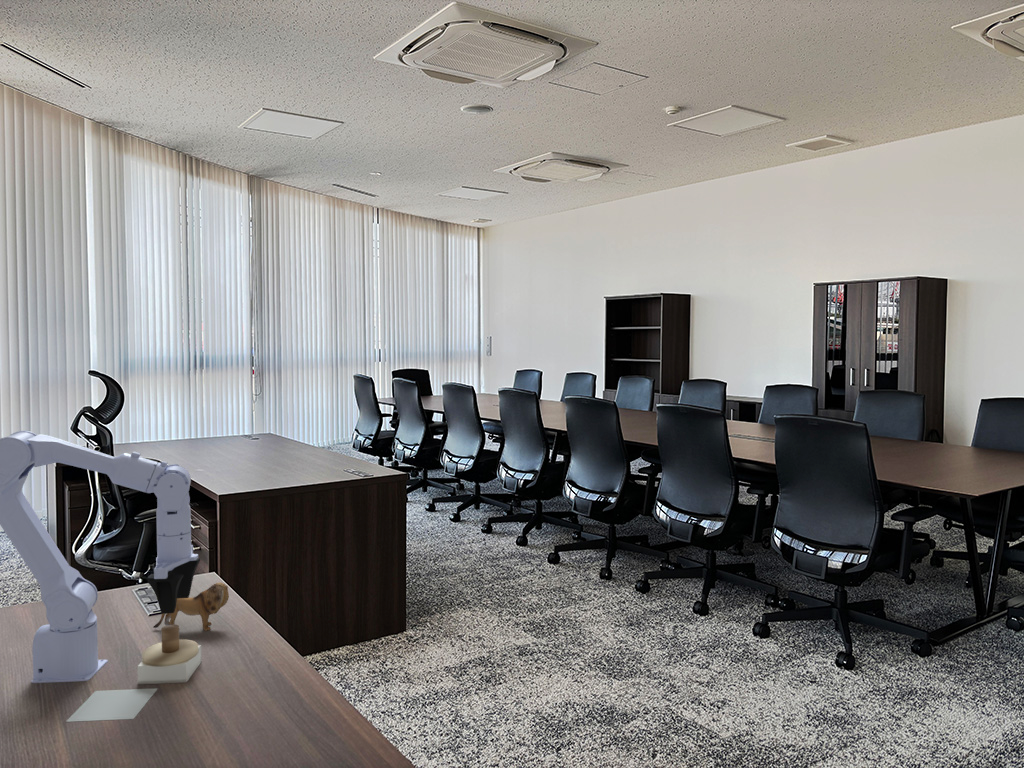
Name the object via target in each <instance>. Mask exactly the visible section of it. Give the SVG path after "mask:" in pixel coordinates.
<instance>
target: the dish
mask: <svg viewBox="0 0 1024 768" xmlns="http://www.w3.org/2000/svg"><path fill="white" fill-rule="evenodd" d="M201 663H202V645H201V644H198V654H197V655H196V656H195V657H194V658H192V659H190V660H188V661H186V662H183V663H180V664H176V665H171V666H162V667H156V666H149V665H146V664H144V663H143V661H142V660H141V662H140V663H139V664H138V665H137V685H148V684H149V685H150V684H153V685H154V684H155V685H156V684H178V683H179V684H181V683H187V682H188V681H189V680H190V678H191V677H192V676H193V674H194V673H195V671H196V670H197V669H198V667H199V666H200V664H201Z"/></svg>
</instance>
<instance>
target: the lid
mask: <svg viewBox="0 0 1024 768" xmlns="http://www.w3.org/2000/svg"><path fill="white" fill-rule="evenodd" d="M198 645H199V643H197V642H196V641H195V640H191V639H186V638H185V639H184V638H182V639H180V626H179V625H178V624H175V625H167V626H165V625H164V626H162V628H161V642H158V643H155V644H153V645H150V646H149V647H146V648H145V649H144V650H143V651H142V654H141V657H142V658H141V659H142V660H141V662H142V661H143V663H144V664H146V665H149V666H156V667H162V666H171V665H176V664H180V663H183V662H186V661H188V660H190V659H192V658H194V657H195V656H196V655H197V654H198Z"/></svg>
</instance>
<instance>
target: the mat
mask: <svg viewBox="0 0 1024 768" xmlns="http://www.w3.org/2000/svg"><path fill="white" fill-rule="evenodd" d="M158 690H159V688H134V689H133V688H132V689H131V688H130V689H111V690H110V689H109V690H108V689H107V690H95V691H94V692H92V694H91V695H90V696H89V697H88V698H87V699H86V700H85V701H84V702H83V703H82V704H81V705H80V706H79V708H77V709H76V710H75V711H74V712H73V713H72V715H71V716H69V718H67V720H65V723H77V722H97V721H98V722H99V721H101V722H102V721H120V720H122V721H123V720H134V719H135V718H136V716H137V715H139V713H140V712H141V710H143V708H144V707H145V705H147V703H148V701H150V699H151V698H152V697H153V695H154V694H155V693H156V692H157V691H158Z"/></svg>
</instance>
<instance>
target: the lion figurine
mask: <svg viewBox="0 0 1024 768" xmlns="http://www.w3.org/2000/svg"><path fill="white" fill-rule="evenodd" d="M228 587H229V586H228V584H225V583H223V582H216V583H213V584H212V585H211V586H210V587H208V588H207V589H205V590H203V591H201V592H200V593H198V595H196V596H194V597H193V596H192V597H190V596H189V597H188V598H177V602H176V608H175V612H174V613H165V614H162V613H161V616H160V619H159V621H158V622H157V623H156V624H154V626H153V627H152V628H154V629H156V628H159V627H160V626H161V624H162V622H163V620H164V622H163V623H164V626H167V625H176V624H175V623H176V618H177V617H178V613H179V612H181V613H183V614H185V615H186V616H200V618H201V623H202V628H203V630H204V631H205V632H207V631H210V630H211V625H212V622H211V621H209V618H210V615H214V614H217V613H218V612H219V610H221V608H223V607H224V606H226V604H227V603H228V600H229V597H230V595H229V589H228ZM164 617H165V618H164Z"/></svg>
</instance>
